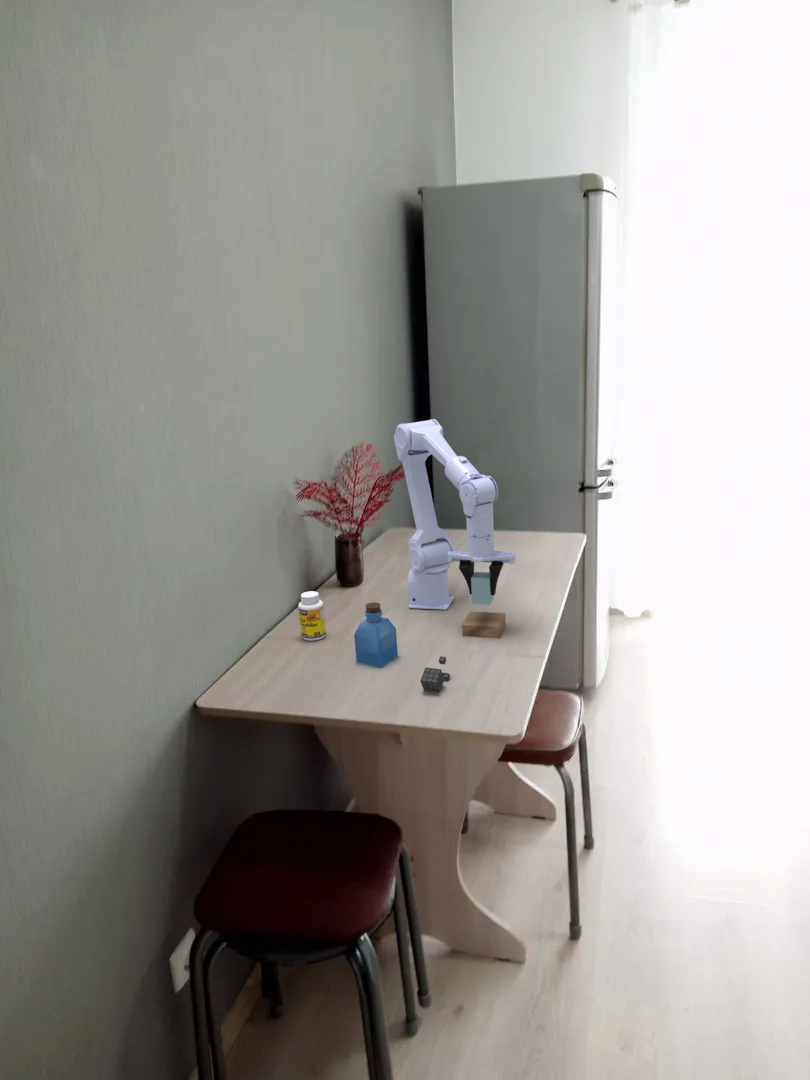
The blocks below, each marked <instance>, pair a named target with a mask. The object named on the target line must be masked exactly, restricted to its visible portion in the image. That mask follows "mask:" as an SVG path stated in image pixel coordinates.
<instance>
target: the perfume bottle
mask: <svg viewBox="0 0 810 1080" xmlns="http://www.w3.org/2000/svg"><path fill="white" fill-rule="evenodd" d="M364 607H365V611H364V615H365V617H366V618H365V619H364V620H362V621H361V622H359V625H358V626H357V629H356V630H355V633H354V634H353V637H354V649H355V658H356V660H355V661H356V663H359V664H363V665H368V666H372V667H376V668H381V669H382V668H383V667H385V666H386V665H387V664H389V663H390V662H391V661H393V660H394V659H396V658H397V657H398V656H399V655H398V640H397V629H396V626H395V625H393V623H392V622H391V621H390V619H389V618H387V617H382V615H383V610H382V608H381V603H380V602H375V601H373V602H368V603H366V604H365V606H364Z"/></svg>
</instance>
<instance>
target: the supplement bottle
mask: <svg viewBox="0 0 810 1080" xmlns="http://www.w3.org/2000/svg"><path fill="white" fill-rule="evenodd" d="M300 600H301V601H300V602H299V603H298V605H297V606H298V617H299V625H300V636H301V638H302V639H303V640H305V641H309V642H313V641H319V640H321V639H323V638H325V637H326V635H327V629H326V628H327V627H326V617H325V607H324V601H322V600H321V599H320V594H319V592H318V591H313V590H311V591H310V590H309V591H305V592H302V593H301V595H300Z"/></svg>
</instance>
